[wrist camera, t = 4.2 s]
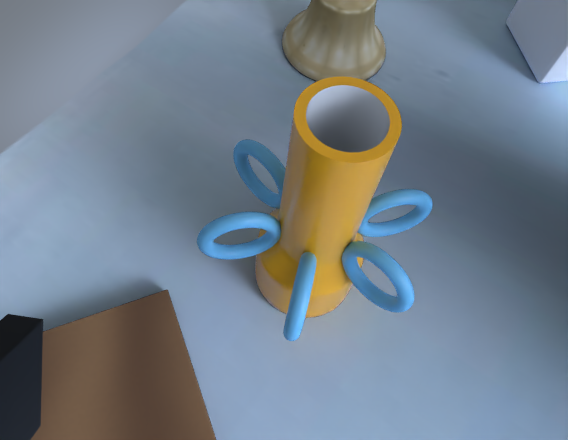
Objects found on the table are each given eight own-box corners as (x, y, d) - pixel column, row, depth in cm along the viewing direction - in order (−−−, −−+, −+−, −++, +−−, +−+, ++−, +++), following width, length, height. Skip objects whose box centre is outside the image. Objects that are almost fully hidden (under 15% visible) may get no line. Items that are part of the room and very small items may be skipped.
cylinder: (172, 260, 32) (127, 93, 19) (291, 164, 36) (322, -27, 23) (316, 409, 29) (383, 333, 16) (430, 286, 33) (560, 142, 20)
